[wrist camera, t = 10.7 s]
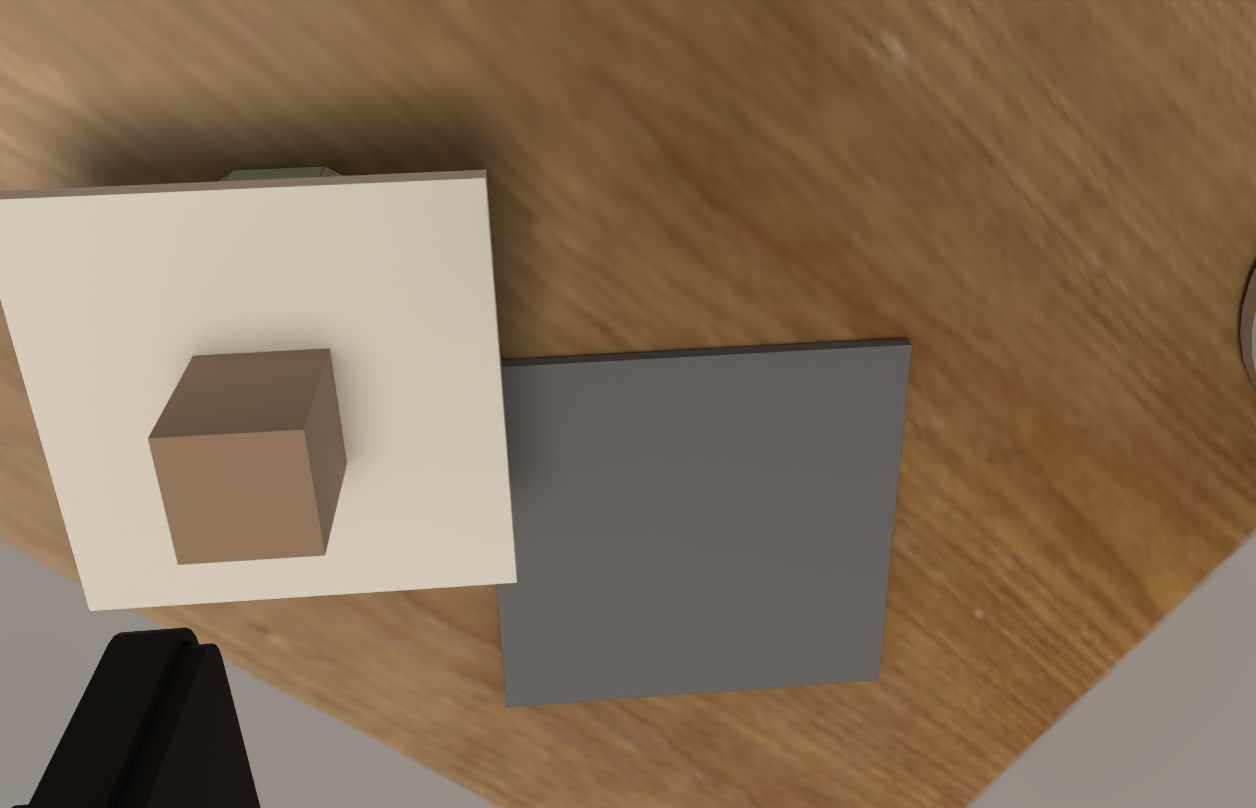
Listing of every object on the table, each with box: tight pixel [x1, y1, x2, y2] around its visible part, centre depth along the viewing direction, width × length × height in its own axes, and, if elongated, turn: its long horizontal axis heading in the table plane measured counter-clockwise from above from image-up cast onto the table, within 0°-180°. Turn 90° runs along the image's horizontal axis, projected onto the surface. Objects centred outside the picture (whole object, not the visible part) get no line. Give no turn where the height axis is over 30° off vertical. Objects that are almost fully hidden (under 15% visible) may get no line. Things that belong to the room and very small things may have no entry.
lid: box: [0, 170, 517, 611], centre depth 35 cm, size 14×14×6 cm
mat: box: [496, 338, 912, 707], centre depth 48 cm, size 16×16×1 cm
